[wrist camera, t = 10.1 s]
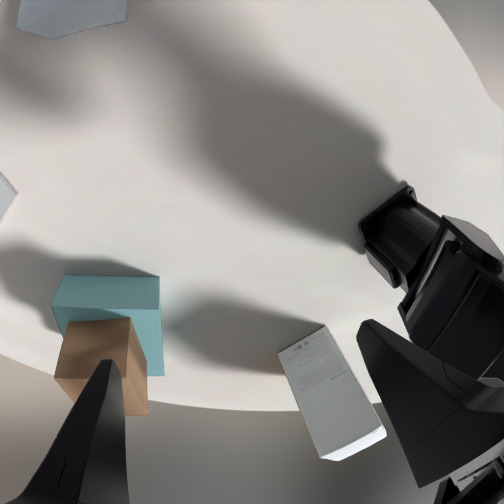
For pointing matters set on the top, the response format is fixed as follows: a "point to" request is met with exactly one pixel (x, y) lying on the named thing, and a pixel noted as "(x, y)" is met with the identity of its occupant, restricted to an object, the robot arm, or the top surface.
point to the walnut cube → (104, 347)
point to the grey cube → (68, 16)
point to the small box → (330, 397)
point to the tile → (6, 196)
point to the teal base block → (115, 308)
